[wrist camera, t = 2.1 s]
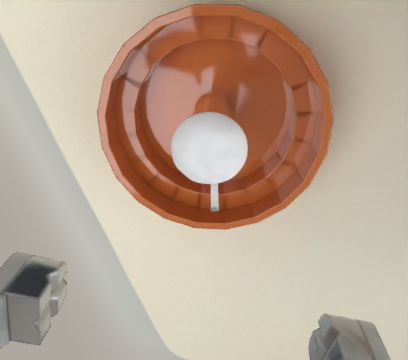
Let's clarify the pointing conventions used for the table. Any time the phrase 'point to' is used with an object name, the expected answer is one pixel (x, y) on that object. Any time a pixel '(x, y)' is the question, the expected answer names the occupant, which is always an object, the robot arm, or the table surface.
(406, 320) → the table surface
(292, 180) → the bowl
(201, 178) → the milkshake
